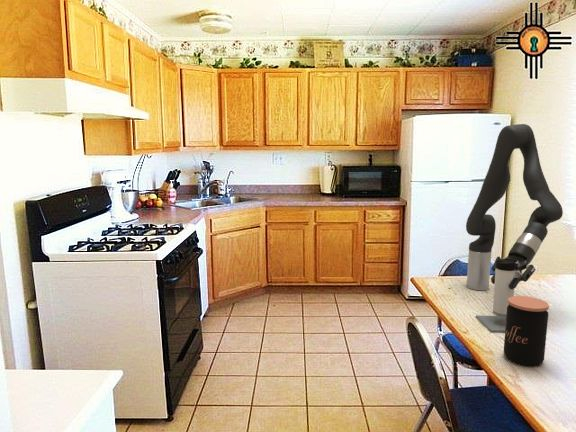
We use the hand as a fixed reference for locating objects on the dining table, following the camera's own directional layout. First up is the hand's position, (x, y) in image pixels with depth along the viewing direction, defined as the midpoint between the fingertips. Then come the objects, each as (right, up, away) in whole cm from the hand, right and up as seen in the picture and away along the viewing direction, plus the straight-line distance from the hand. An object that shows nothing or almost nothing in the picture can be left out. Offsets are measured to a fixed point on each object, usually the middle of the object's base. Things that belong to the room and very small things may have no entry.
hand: (501, 285), depth 150 cm
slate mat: (+2, -15, +3) cm, 15 cm away
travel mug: (+2, -11, +2) cm, 11 cm away
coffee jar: (-4, -19, -21) cm, 29 cm away
